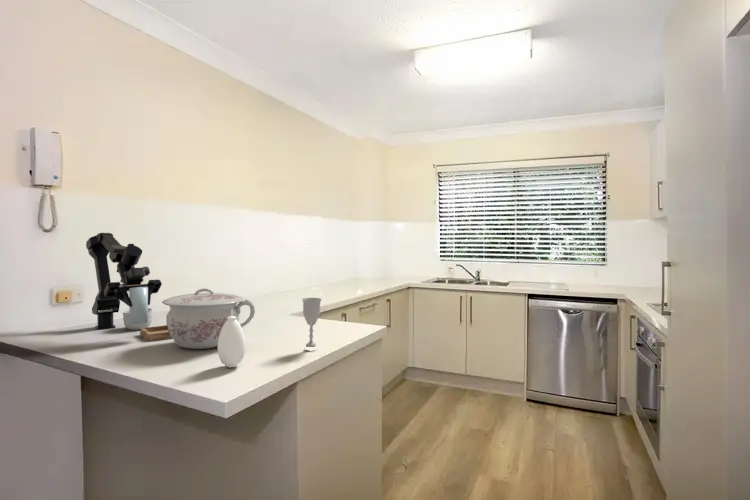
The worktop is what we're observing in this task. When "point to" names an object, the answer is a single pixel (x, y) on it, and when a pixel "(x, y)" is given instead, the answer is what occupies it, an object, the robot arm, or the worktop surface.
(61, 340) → the worktop surface
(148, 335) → the tray
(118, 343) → the worktop surface
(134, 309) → the pale blue rounded cylinder
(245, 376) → the worktop surface
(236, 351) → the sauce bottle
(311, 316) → the chalice
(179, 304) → the chamber pot
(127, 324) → the teacup
